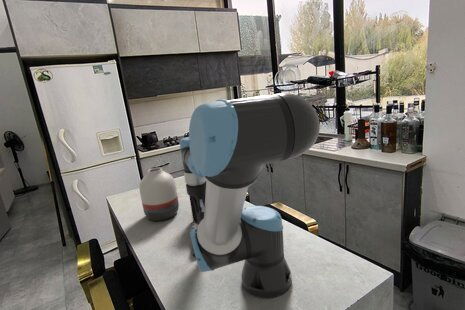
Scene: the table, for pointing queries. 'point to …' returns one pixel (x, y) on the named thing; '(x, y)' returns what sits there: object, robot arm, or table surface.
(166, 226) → the table surface
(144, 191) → the vase
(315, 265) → the table surface
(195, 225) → the grey long bar
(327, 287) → the table surface
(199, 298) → the table surface
